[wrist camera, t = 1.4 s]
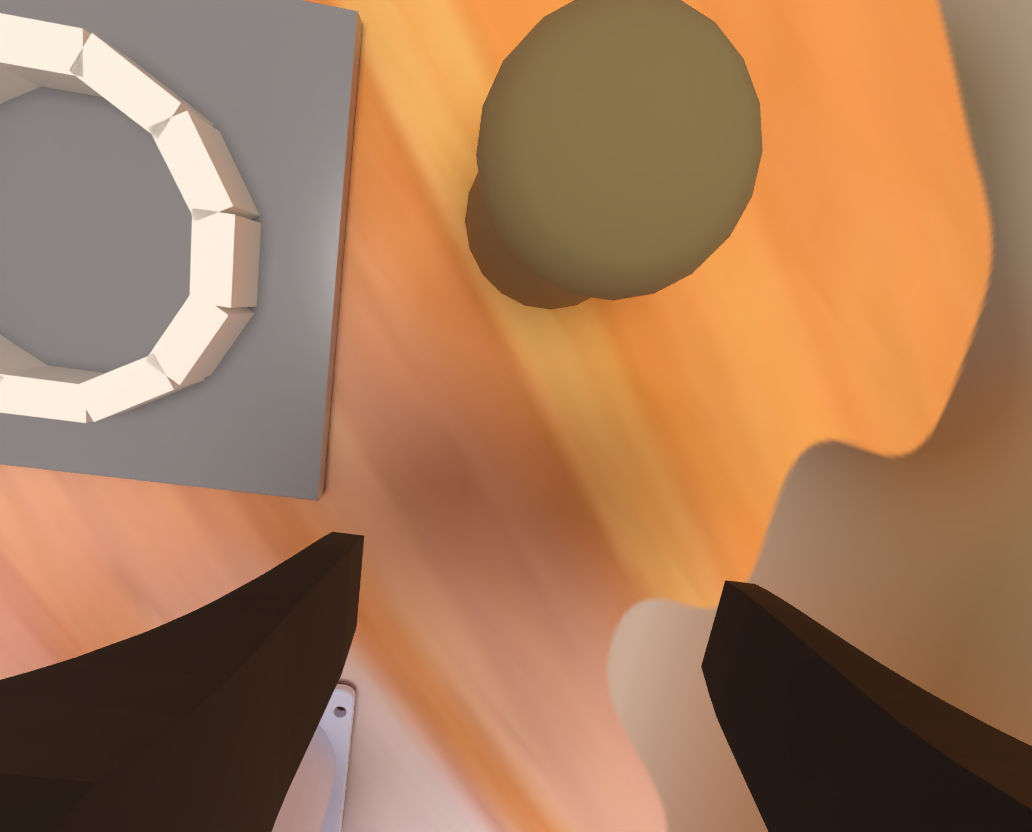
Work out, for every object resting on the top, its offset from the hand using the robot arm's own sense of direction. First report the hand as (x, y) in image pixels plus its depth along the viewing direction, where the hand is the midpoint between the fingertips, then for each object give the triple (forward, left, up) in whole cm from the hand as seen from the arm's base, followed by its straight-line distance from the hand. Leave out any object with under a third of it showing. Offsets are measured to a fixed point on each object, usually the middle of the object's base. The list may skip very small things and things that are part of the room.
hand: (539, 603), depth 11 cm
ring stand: (+6, +15, -11) cm, 19 cm away
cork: (+9, 0, -11) cm, 14 cm away
